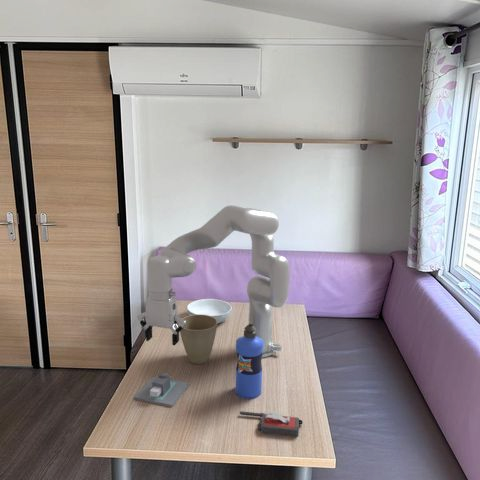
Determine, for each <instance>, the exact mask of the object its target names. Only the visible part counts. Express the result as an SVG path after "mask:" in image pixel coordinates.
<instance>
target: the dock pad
mask: <svg viewBox="0 0 480 480" xmlns="http://www.w3.org/2000/svg"><path fill="white" fill-rule="evenodd" d="M157 377H158V376H156V375H154V376H152V377H151V378H150V380H149V381H148V382H147V383H146V384H145V385H144V386H143V387H142V388H141V389H140V390H139V391H138V392H137V393H136V394H135V396H134V397H133V399H134V400H137V401H142V402H145V403H146V402H147V403H151V404H155V405H159V406H166V407H169V408H173V407H174V406H175V405H176V403H177V402H178V401H179V399H180V398H181V397H182V395H183V394H184V393H185V392H186V390H187V389H188V387H189V386H190V382H186V381H181V380H176V379H171V378H170V389H169V390H168V391H167V392H166V393H165V395H164V396H161V395H159V396H158V397H154V396H150V390H151V389H152V382H153V381H154V380H155V379H156V378H157Z"/></svg>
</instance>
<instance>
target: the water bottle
mask: <svg viewBox="0 0 480 480" xmlns="http://www.w3.org/2000/svg"><path fill="white" fill-rule="evenodd" d="M243 329H244V330H243V335H242V336H239V337H237V338H236V340H235V351H236V367H235V394H236V395H237V396H238V397H239V398H241V399H244V400H245V399H246V400H251V399H256V398H259V396H261V395H262V388H263V387H262V384H263V383H262V382H263V381H262V380H263V366H262V358H263V357H262V353H263V344H264V342H263V340H262V339H261V338H259V337H256V328H255V327H254V326H253V325H252V324H249V323H248V324H247V325H245V327H244V328H243Z"/></svg>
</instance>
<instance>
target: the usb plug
mask: <svg viewBox="0 0 480 480" xmlns="http://www.w3.org/2000/svg"><path fill="white" fill-rule="evenodd" d="M156 377H157V378H156V379H155V380H154V381H153V382H152V389H151V390H150V396H154V397H158V396H159V395H161V396H164V395H165V393H166V392H167V391H168V390H169V389H170V379H171V374H170V373H168V372H161V373H159V374H158V375H157V376H156Z"/></svg>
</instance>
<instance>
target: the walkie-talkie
mask: <svg viewBox="0 0 480 480" xmlns="http://www.w3.org/2000/svg"><path fill="white" fill-rule="evenodd" d="M239 414H240V415H242V416H251V417H257V418H258V417H260V422H258V429H259V430H260V433H261V434H267V435H272V436H273V435H275V436H283V437H294V438H297V437H299V431H300V429H299V428H300V425H303V419H300V418H299V417H295V416H286V415H282V414H280V413H279V412H274V411H267V410H265V411H264V412H254V411H251V412H250V411H243V410H241V411H239Z"/></svg>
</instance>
